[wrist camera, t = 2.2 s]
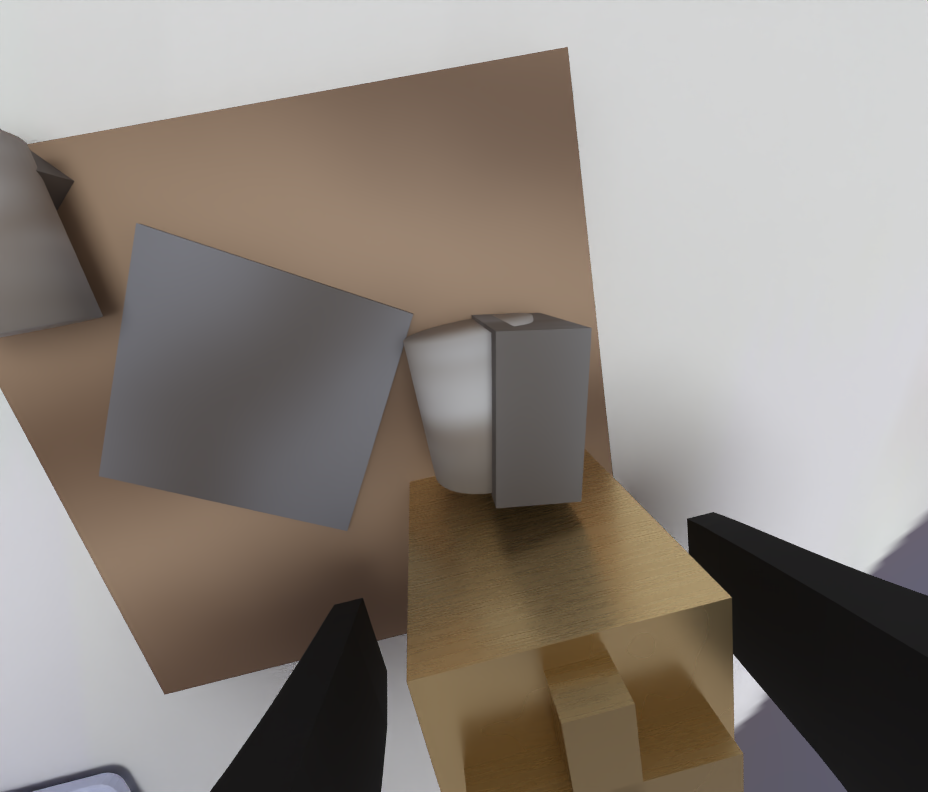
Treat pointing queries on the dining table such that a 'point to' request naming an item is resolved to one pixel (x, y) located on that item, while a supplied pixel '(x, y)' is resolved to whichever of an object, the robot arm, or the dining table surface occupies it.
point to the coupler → (566, 647)
